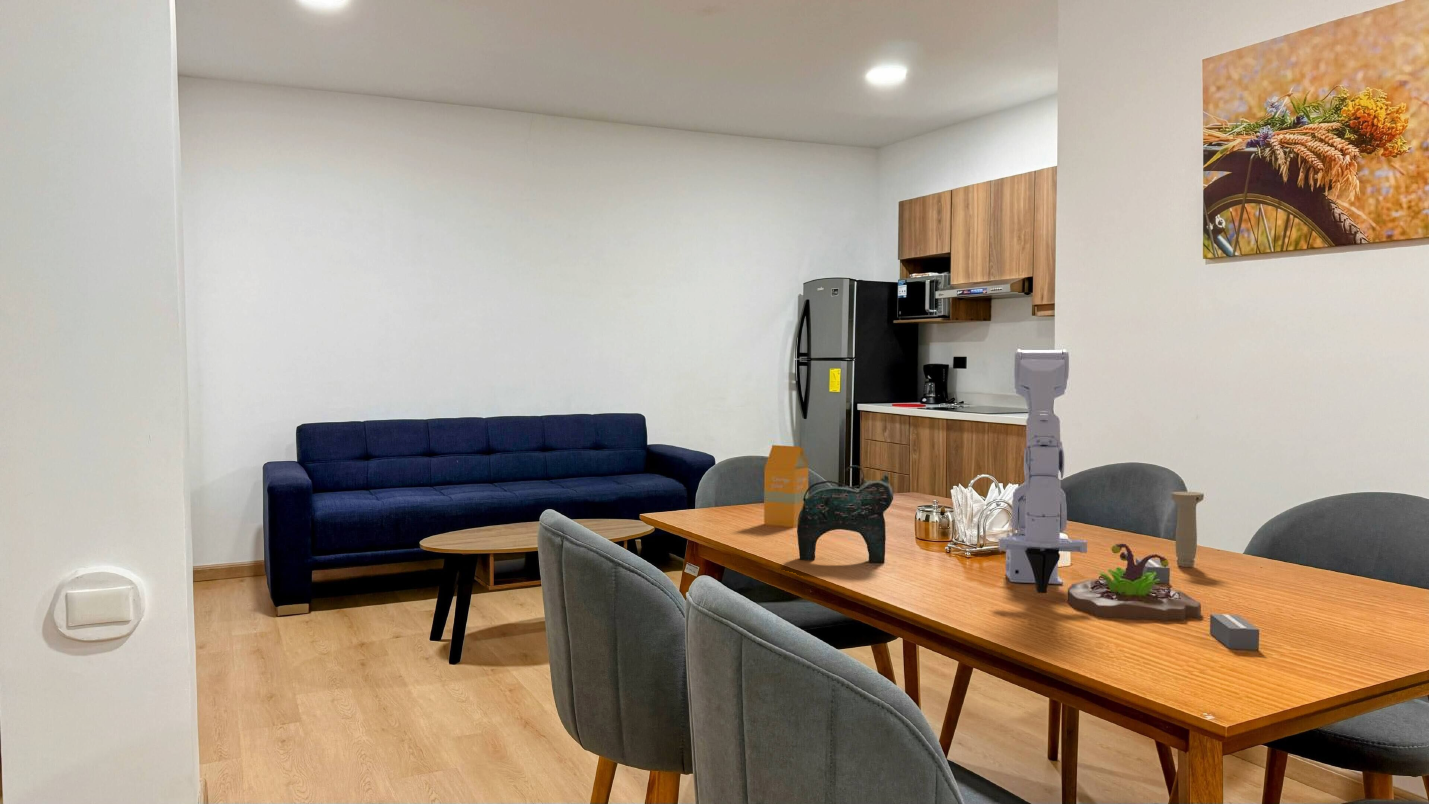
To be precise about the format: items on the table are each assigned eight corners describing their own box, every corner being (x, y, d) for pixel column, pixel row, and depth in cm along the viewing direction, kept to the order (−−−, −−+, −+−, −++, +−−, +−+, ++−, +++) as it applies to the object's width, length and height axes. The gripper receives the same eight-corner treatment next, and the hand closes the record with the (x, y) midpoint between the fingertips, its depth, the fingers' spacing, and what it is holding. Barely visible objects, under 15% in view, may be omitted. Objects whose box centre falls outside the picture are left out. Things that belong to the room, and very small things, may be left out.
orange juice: (794, 527, 238) (794, 448, 238) (763, 524, 243) (764, 446, 242) (808, 523, 245) (809, 445, 244) (778, 520, 250) (779, 444, 249)
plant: (1050, 593, 173) (1051, 532, 173) (1158, 593, 173) (1159, 532, 173) (1094, 623, 153) (1096, 554, 153) (1216, 624, 153) (1217, 554, 153)
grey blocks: (1229, 648, 139) (1229, 627, 138) (1135, 573, 188) (1135, 557, 188) (1258, 650, 138) (1259, 629, 138) (1156, 574, 187) (1157, 558, 187)
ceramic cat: (892, 559, 201) (893, 464, 200) (893, 565, 194) (894, 468, 193) (798, 555, 204) (798, 462, 203) (795, 562, 198) (796, 465, 197)
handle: (1206, 567, 194) (1208, 494, 193) (1184, 570, 191) (1186, 495, 191) (1186, 562, 198) (1188, 491, 198) (1164, 565, 196) (1165, 492, 195)
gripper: (1002, 516, 163) (1001, 595, 164) (1091, 519, 161) (1089, 599, 162) (997, 510, 170) (996, 585, 171) (1082, 513, 168) (1081, 589, 169)
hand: (1041, 591), depth 167 cm, fingers closed
